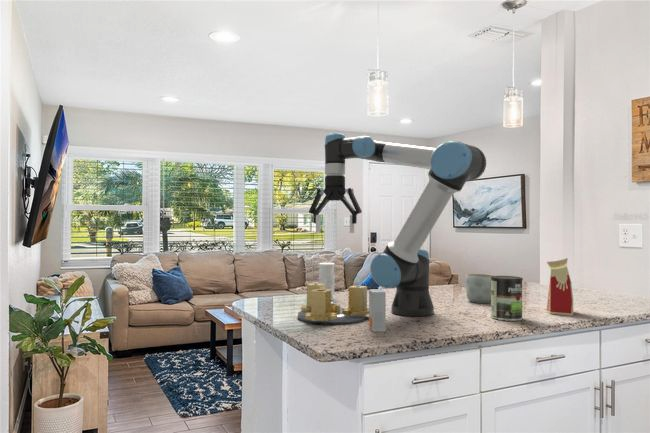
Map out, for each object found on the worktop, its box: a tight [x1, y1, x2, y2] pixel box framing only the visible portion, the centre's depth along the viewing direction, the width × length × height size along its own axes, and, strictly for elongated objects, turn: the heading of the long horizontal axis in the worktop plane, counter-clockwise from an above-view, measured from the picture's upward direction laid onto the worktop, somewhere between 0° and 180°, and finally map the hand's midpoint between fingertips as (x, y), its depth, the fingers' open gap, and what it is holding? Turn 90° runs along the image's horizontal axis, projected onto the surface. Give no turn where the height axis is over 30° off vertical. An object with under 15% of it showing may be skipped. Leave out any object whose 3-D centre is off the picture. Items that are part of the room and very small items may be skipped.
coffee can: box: [490, 275, 524, 322], centre depth 177 cm, size 10×10×14 cm
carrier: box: [297, 282, 369, 326], centre depth 177 cm, size 27×23×11 cm
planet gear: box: [305, 289, 337, 321], centre depth 169 cm, size 11×11×9 cm
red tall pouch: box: [545, 257, 574, 316], centre depth 188 cm, size 9×9×20 cm
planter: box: [465, 273, 497, 304], centre depth 213 cm, size 12×12×11 cm
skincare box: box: [368, 288, 387, 333], centre depth 158 cm, size 6×4×12 cm
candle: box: [318, 262, 336, 301], centre depth 219 cm, size 7×7×15 cm
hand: (334, 232), depth 193 cm, fingers open, 13 cm apart
